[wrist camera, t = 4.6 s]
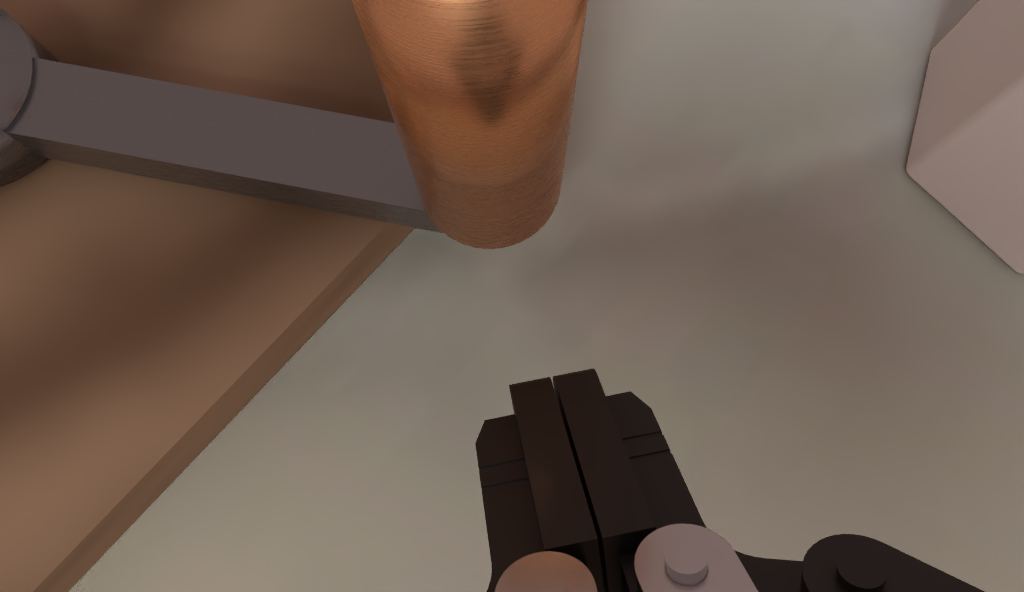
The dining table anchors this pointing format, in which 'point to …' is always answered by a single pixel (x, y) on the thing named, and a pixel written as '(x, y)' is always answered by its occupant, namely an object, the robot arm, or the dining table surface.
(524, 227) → the lever
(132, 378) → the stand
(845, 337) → the dining table surface
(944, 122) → the jar
